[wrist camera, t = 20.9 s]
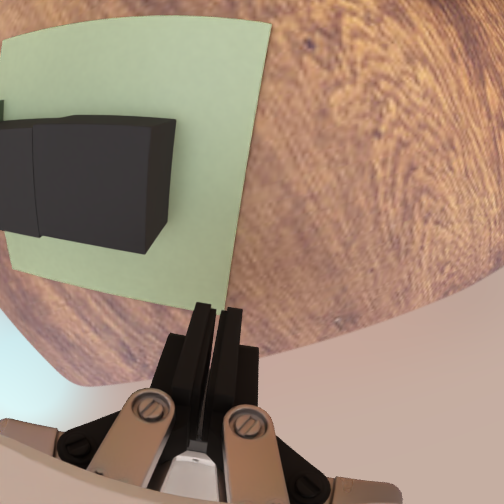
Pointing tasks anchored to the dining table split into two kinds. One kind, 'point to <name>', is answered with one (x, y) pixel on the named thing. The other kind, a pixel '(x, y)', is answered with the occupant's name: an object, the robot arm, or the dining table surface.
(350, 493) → the robot arm
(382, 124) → the dining table surface
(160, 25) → the board
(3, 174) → the black square block
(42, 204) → the black box
